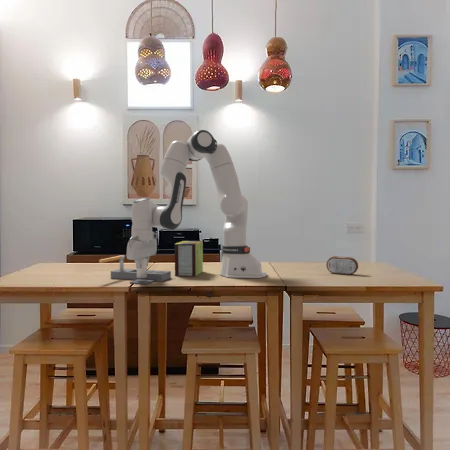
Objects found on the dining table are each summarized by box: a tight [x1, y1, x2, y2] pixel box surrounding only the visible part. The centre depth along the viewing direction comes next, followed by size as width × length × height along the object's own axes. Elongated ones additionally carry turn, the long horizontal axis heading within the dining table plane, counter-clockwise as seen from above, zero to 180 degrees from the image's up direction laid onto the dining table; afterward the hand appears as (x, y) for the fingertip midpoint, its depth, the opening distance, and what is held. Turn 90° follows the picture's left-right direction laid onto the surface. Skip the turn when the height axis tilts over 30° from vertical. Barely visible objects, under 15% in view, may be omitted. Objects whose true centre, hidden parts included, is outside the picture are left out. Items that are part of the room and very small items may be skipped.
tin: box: [326, 255, 359, 276], centre depth 212 cm, size 15×3×8 cm, turn 65°
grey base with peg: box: [110, 258, 172, 283], centre depth 199 cm, size 26×9×9 cm, turn 72°
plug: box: [136, 257, 148, 278], centre depth 189 cm, size 4×4×8 cm
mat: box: [129, 279, 156, 286], centre depth 189 cm, size 8×8×1 cm
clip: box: [98, 254, 126, 264], centre depth 195 cm, size 18×3×1 cm, turn 160°
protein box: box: [174, 240, 204, 277], centre depth 212 cm, size 10×15×16 cm
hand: (142, 267), depth 189 cm, fingers closed on plug, 4 cm apart
